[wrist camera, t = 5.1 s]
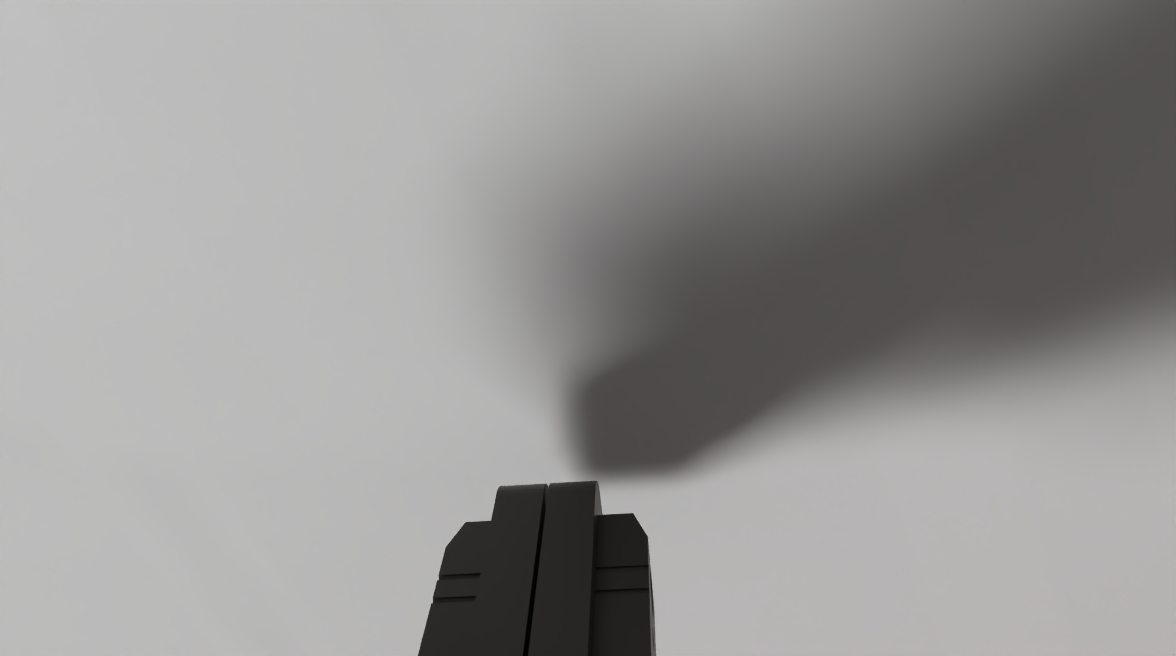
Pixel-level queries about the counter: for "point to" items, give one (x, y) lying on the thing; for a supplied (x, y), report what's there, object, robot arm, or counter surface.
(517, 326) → the counter surface
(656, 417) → the counter surface
